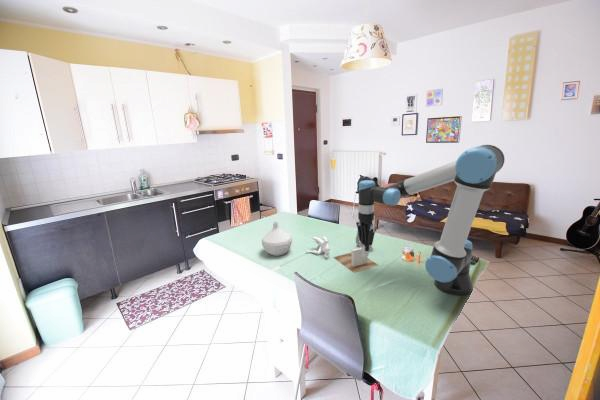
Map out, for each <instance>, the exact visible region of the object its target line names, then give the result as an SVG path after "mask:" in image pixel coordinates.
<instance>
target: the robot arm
mask: <svg viewBox="0 0 600 400" xmlns="http://www.w3.org/2000/svg"><path fill="white" fill-rule="evenodd" d="M505 161H506V160H505V154H504V153H503V151H502V150H501V149H500V148H499V147H497V146H495V145H491V144H483V145H479V146H474V147H470V148H468V149H467V150H465V151H463V152H462V153H461V154H460V155H459V156H458V158H457V159H456V160H455V161H452V162H449V163H447V164H444V165H441V166H439V167H435V168H434V169H431V170H428V171H426V172H422V173H420V174H418V175H414V176H412V177H409V178H406V179H404V180H401V181H398V182H395V183H393V184H390V185H386V186H377V185H376V182H375V181H374V180H371V179H370V180H368V179H366V180H365V179H364V180H361V181H359V183H358V209H357V210H358V214H357V217H358V221H357V222H355V223H356V227H357V232H358V235H359V242H360V241H361V243H362V256H363V257H366V256H369V252H368V251H369V245H372V246H373V243H374V238H375V234H376V231H377V228H376V227H375V228H374V225H373V224H374V223H373V221H374V220H375V213H374V212H375V203H378V204H381V205H382V204H383V205H388V206H397V205H398V204H399V203H400V201H401V199H403V198H405V197H408V196H411V195H414V194H417V193H420V192H423V191H426V190H430V189H433V188H436V187H439V186H442V185H445V184H449V183H452V182H453V183H455V185H456V189H455V192H454V195H453V198H452V202H451V204H450V207H449V210H448V214H447V216H446V220H445V224H444V227H443V230H442V233H441V236H440V239H439V240H437V241H436V242H434V245H433V247H432V251H431V252H430V253H431V254H430V255H429V256H428V257H427V259H426V260H425V263H424V266H425V271H426V272H427V273H428V275H429V276H430V277H431V278H432V279H434V281H433V282H434V286H435V287H436V288H437V289H438V290H441V292H444V293H447V294H449V295H453V296H465V295H469V294H470V293H472V291H473V283H472V279H471V276H470V270H471V269H470V268H471V262H472V254H473V243H472V241H470V240H469V239H468V237H469V234H470V231H471V228H472V226H473V223H474V220H475V217H476V215H477V212H478V209H479V207H480V203H481V201H482V198H483V195H484V193H485V192H487V191H489V190H490V189H491V187H492V185H493V183H494V182H493V181H494V180H495V177H496V174H497V173H498V172H500V170H501V169H503V166H504V164H505Z"/></svg>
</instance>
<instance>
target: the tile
mask: <svg viewBox="0 0 600 400" xmlns="http://www.w3.org/2000/svg"><path fill="white" fill-rule="evenodd" d="M351 252H352V266H353V267H355V266H358V265H362V264H365V263H367V259H369V257H368V256H369V255H368V256H366V257H363V256H362V247H361V248H359V247H358V248H354V249H351Z"/></svg>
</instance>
